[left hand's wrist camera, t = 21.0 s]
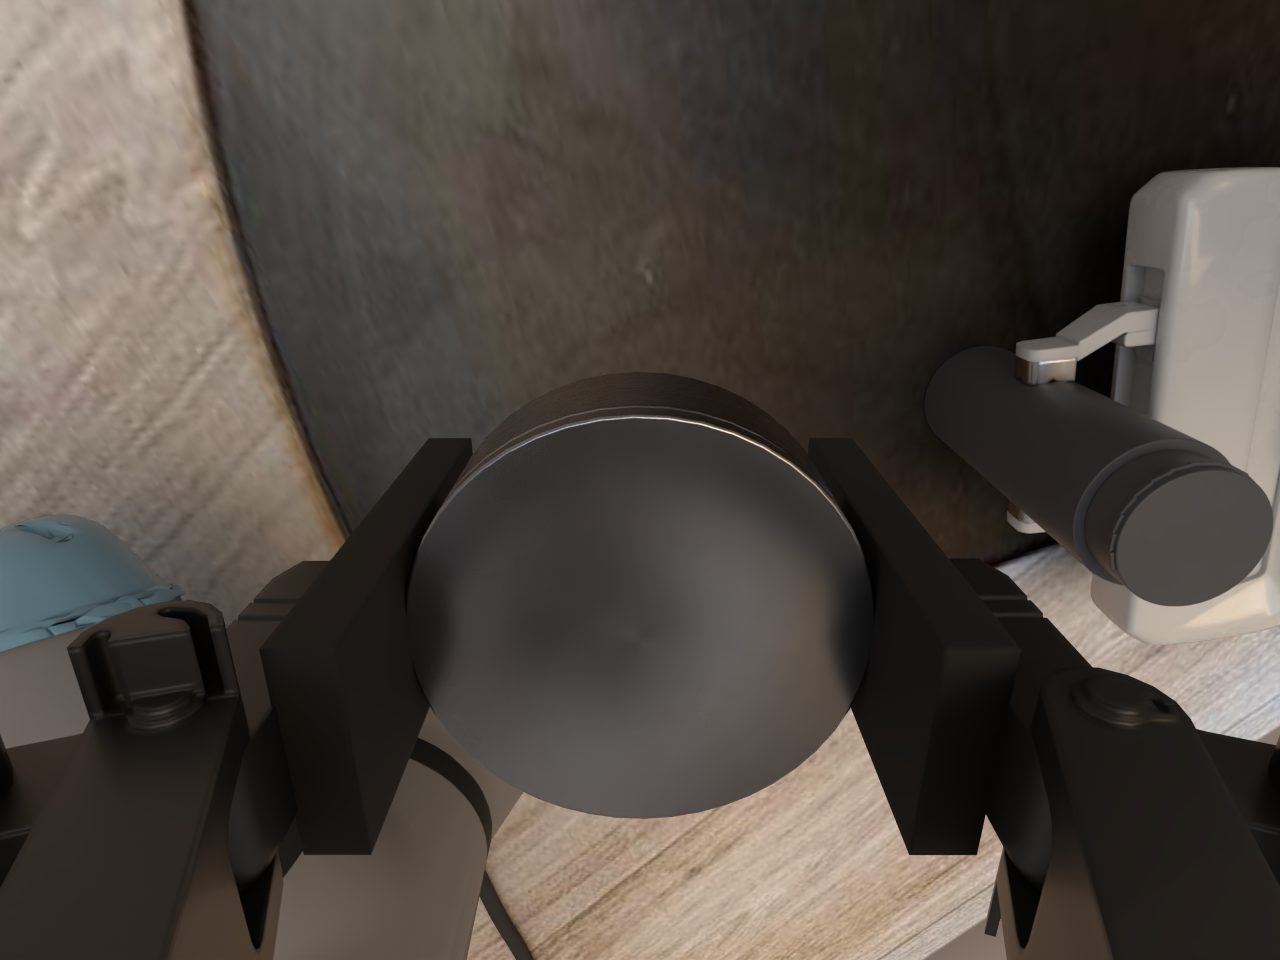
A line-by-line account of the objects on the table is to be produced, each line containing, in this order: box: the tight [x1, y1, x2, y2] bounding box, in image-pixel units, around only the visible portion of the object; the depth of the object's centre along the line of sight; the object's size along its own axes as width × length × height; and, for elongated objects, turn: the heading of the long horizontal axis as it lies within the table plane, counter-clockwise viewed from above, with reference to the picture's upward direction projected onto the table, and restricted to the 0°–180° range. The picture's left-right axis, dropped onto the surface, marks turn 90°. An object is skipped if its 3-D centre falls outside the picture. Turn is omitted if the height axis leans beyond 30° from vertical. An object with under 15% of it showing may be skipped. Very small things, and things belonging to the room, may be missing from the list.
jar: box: [924, 346, 1273, 606], centre depth 31 cm, size 5×5×16 cm
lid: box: [406, 372, 875, 819], centre depth 11 cm, size 6×6×2 cm
